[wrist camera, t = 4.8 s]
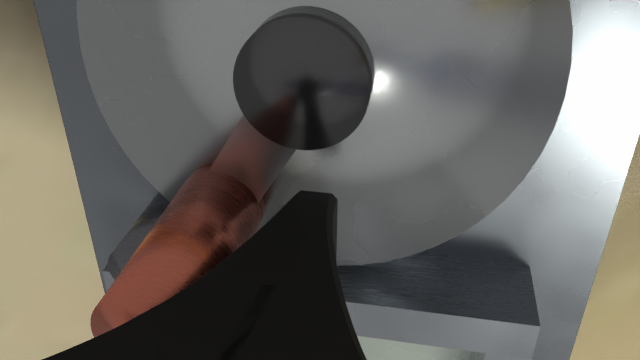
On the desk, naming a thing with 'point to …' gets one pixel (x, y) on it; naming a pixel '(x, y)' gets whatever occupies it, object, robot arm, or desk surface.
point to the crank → (319, 119)
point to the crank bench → (451, 256)
